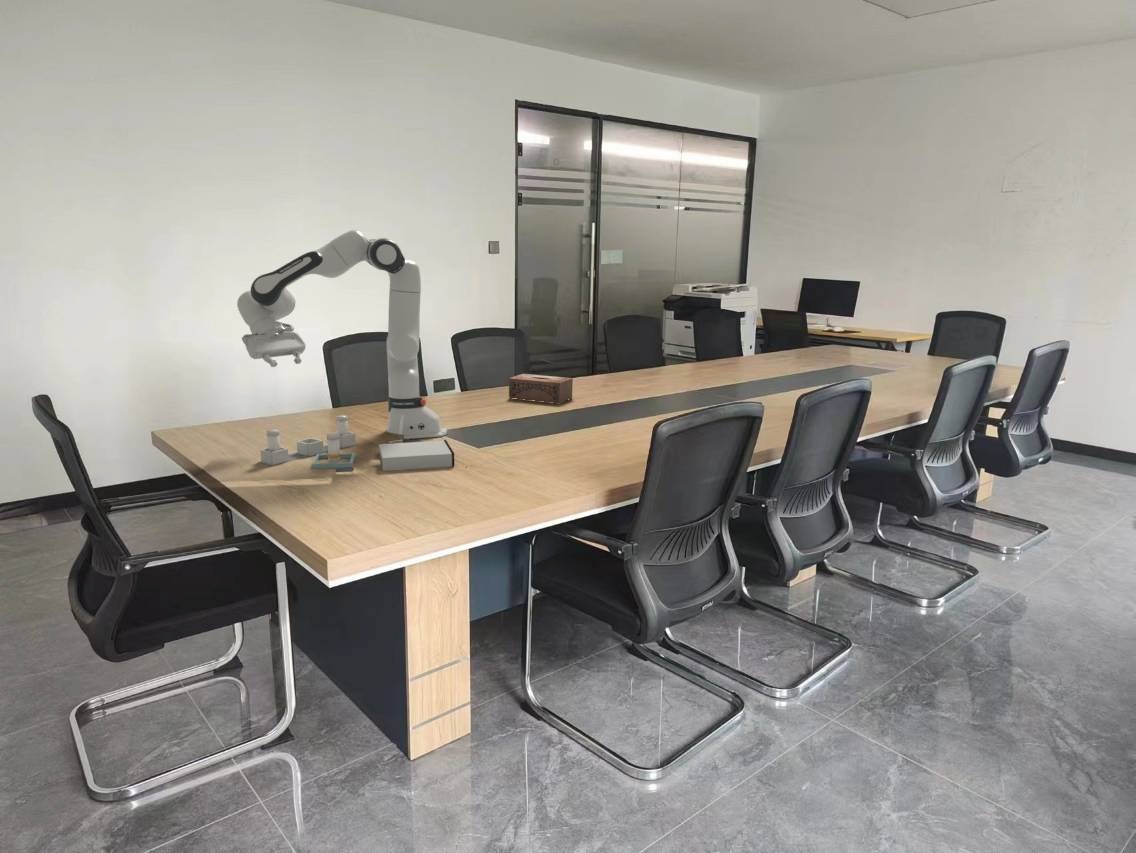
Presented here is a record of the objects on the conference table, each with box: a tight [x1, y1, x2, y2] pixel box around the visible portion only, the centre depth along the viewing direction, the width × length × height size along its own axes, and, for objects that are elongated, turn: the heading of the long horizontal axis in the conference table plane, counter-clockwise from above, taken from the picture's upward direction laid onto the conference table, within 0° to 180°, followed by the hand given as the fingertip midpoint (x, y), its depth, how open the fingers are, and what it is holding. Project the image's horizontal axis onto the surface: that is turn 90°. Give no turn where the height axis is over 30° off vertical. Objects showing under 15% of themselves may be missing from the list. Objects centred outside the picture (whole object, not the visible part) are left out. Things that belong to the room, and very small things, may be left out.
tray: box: [311, 452, 356, 473], centre depth 247 cm, size 12×12×3 cm
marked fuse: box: [326, 432, 342, 463], centre depth 246 cm, size 4×4×10 cm
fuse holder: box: [257, 430, 359, 467], centre depth 258 cm, size 7×35×6 cm, turn 145°
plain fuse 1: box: [266, 428, 281, 452], centre depth 246 cm, size 4×4×10 cm
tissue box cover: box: [508, 373, 574, 404], centre depth 362 cm, size 26×14×10 cm, turn 66°
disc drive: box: [378, 439, 455, 472], centre depth 255 cm, size 18×22×5 cm
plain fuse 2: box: [335, 414, 349, 436], centre depth 268 cm, size 4×4×10 cm
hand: (287, 364), depth 261 cm, fingers open, 8 cm apart
